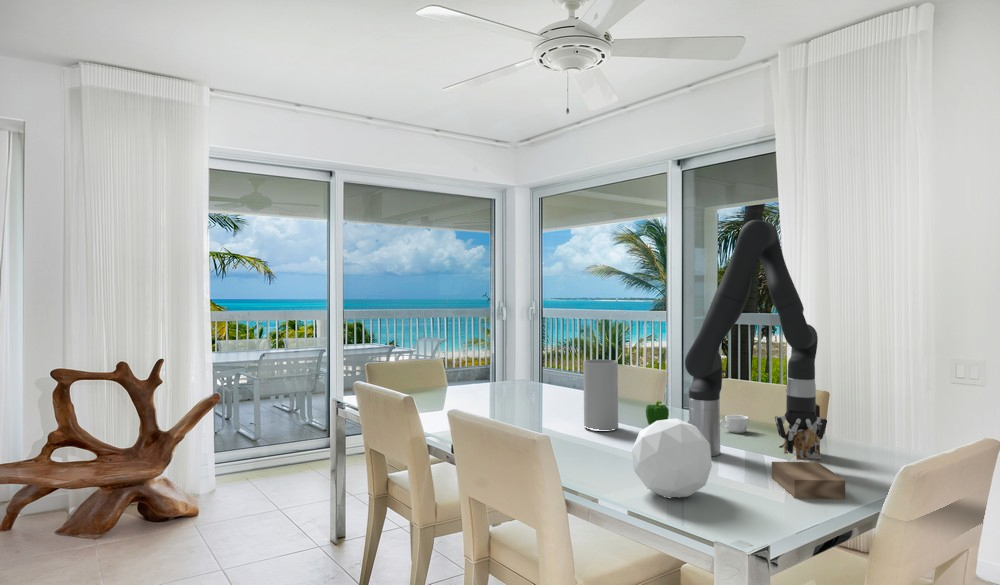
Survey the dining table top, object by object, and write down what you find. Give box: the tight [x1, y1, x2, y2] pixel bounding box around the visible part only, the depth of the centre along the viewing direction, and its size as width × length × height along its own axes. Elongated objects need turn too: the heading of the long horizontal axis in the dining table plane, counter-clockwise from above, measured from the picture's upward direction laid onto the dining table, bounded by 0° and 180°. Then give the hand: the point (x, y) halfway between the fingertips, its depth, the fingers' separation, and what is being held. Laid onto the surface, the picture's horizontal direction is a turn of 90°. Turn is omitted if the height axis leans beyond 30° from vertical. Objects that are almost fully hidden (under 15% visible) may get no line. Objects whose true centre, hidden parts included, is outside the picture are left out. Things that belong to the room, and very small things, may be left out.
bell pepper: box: [645, 400, 670, 426], centre depth 234 cm, size 8×8×10 cm
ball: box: [631, 417, 713, 498], centre depth 157 cm, size 19×20×20 cm
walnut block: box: [771, 461, 847, 500], centre depth 161 cm, size 12×16×5 cm
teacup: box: [720, 414, 749, 434], centre depth 223 cm, size 10×8×5 cm
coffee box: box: [793, 403, 821, 460], centre depth 192 cm, size 9×6×16 cm
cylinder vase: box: [582, 359, 619, 430], centre depth 231 cm, size 12×12×25 cm
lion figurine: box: [778, 429, 821, 461], centre depth 180 cm, size 15×5×9 cm, turn 14°
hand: (800, 452), depth 178 cm, fingers closed on lion figurine, 4 cm apart
